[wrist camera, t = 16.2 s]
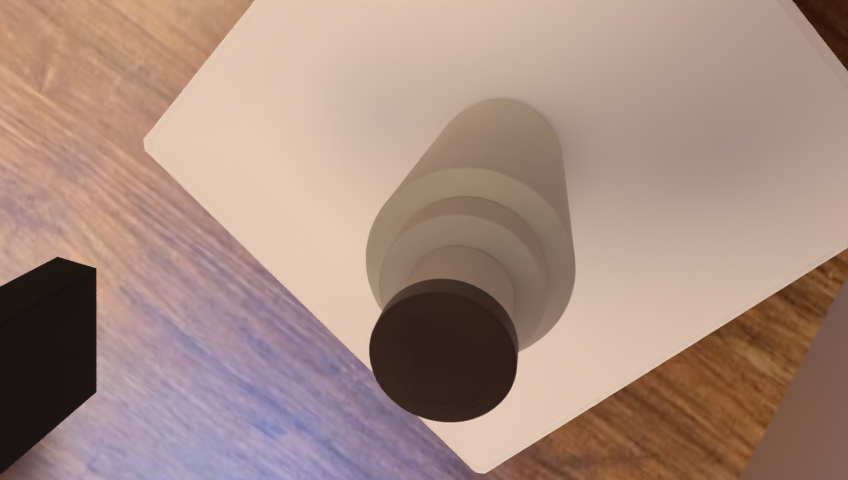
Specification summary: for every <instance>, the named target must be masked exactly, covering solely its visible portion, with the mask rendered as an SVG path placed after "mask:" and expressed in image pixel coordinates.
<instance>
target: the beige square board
mask: <svg viewBox="0 0 848 480" xmlns="http://www.w3.org/2000/svg"><path fill="white" fill-rule="evenodd" d="M488 101H507V102H513V103H517V104H520V105H523V106H525V107H527V108H529V109H531V110H533V111H534V112H536V113H537V114H539V115H540V116H541V117H542V118H543V119H544V120H545V121H546V122H547V123H548V124H549V125H550V126H551V128H552V129H553V131H554V133H555V134H556V136H557V138H558V140H559V143H560V146H561V149H562V155H563V162H564V170H565V178H566V187H567V195H568V203H569V212H570V220H571V228H572V236H573V245H574V253H575V267H576V274H575V282H574V288H573V292H572V295H571V299H570V301H569V303H568V305H567V308H566V310H565V311H564V313H563V315H562V316H561V318H560V319H559V321H558V322H557V323H556V324H555V326H554V327H553V328H552V329H551V330H550V331H549V332H548V333H547V334H546V335H545V336H544V337H543V338H541V339H540V340H539V341H537V342H536V343H534V344H533V345H531V346H530V347H528V348H526V349H524V350H522V351H520V352H518V363H517V373H516V377H515V381H514V384H513V386H512V388H511V390H510V392H509V393H508V395H507V396H506V397H505V399H504V400H503V401H502V402H501V403H500V404H499V405H498V406H497V407H495V408H494V409H493V410H491V411H490V412H488V413H487V414H485V415H483V416H480V417H478V418H475V419H472V420H468V421H463V422H454V423H450V422H437V421H432V420H428V419H424V418H421V417H419V416H418V417H419V418H420V419H421V420H422V421H423V422H424V423H425V424H426V425H427V426H428V427H429V428H430V429H431V430H432V431H433V432H434V433H435V434H436V435H437V436H439V437H440V438H441V439H442V440H443V441H444V442H445V443H446V444H447V445H448V446H449V447H450V448H451V449H452V450H453V451H454V452H455V453H456V454H457V455H458V456H459V457H460V458H461V459H462V460H463V461H464V462H465V463H466V464H467V465H468V466H469V467H470V468H471V469H472V470H473V471H474V472H476V473H483V474H485V473H486V472H488V471H490V470H491V469H493V468H495V467H496V466H498V465H499V464H501V463H503V462H504V461H506V460H507V459H509V458H511V457H512V456H514V455H515V454H517V453H519V452H520V451H522V450H523V449H525V448H527V447H528V446H530V445H531V444H533V443H535V442H536V441H538V440H540V439H541V438H543V437H544V436H546V435H548V434H549V433H551V432H552V431H554V430H556V429H557V428H559V427H560V426H562V425H564V424H565V423H567V422H568V421H570V420H572V419H573V418H575V417H576V416H578V415H580V414H581V413H583V412H585V411H586V410H588V409H589V408H591V407H593V406H594V405H596V404H597V403H599V402H601V401H602V400H604V399H605V398H607V397H609V396H610V395H612V394H613V393H615V392H617V391H618V390H620V389H621V388H623V387H625V386H626V385H628V384H630V383H631V382H633V381H634V380H636V379H638V378H639V377H641V376H642V375H644V374H646V373H647V372H649V371H650V370H652V369H654V368H655V367H657V366H658V365H660V364H662V363H663V362H665V361H666V360H668V359H670V358H671V357H673V356H675V355H676V354H678V353H679V352H681V351H683V350H684V349H686V348H687V347H689V346H691V345H692V344H694V343H695V342H697V341H699V340H700V339H702V338H703V337H705V336H707V335H708V334H710V333H711V332H713V331H715V330H716V329H718V328H720V327H721V326H723V325H724V324H726V323H728V322H729V321H731V320H732V319H734V318H736V317H737V316H739V315H740V314H742V313H744V312H745V311H747V310H748V309H750V308H752V307H753V306H755V305H756V304H758V303H760V302H761V301H763V300H765V299H766V298H768V297H769V296H771V295H773V294H774V293H776V292H777V291H779V290H781V289H782V288H784V287H785V286H787V285H789V284H790V283H792V282H793V281H795V280H797V279H798V278H800V277H801V276H803V275H805V274H806V273H808V272H810V271H811V270H813V269H814V268H816V267H818V266H819V265H821V264H822V263H824V262H826V261H827V260H829V259H830V258H832V257H834V256H835V255H837V254H838V253H840V252H842V251H843V250H845V249H846V248H848V71H847V70H846V69H845V67H844V66H843V65H842V63H841V62H840V61H839V60H838V58H837V57H836V56H835V54H834V53H833V52H832V51H831V49H830V48H829V47H828V46H827V44H826V43H825V42H824V40H823V39H822V38H821V37H820V35H819V34H818V33H817V31H816V30H815V29H814V28H813V26H812V25H811V24H810V22H809V21H808V20H807V19H806V17H805V16H804V15H803V14H802V12H801V11H800V10H799V8H798V7H797V6H796V5H795V3H794V2H793V1H792V0H255V1H254V2H253V3H252V4H251V6H250V7H249V8H248V9H247V11H246V12H245V13H244V14H243V16H242V17H241V18H240V19H239V21H238V22H237V23H236V24H235V26H234V27H233V28H232V29H231V31H230V32H229V33H228V34H227V36H226V37H225V38H224V39H223V41H222V42H221V43H220V44H219V46H218V47H217V48H216V49H215V51H214V52H213V53H212V54H211V56H210V57H209V58H208V59H207V61H206V62H205V63H204V64H203V66H202V67H201V68H200V69H199V71H198V72H197V73H196V74H195V76H194V77H193V78H192V79H191V81H190V82H189V83H188V84H187V86H186V87H185V88H184V89H183V91H182V92H181V93H180V94H179V96H178V97H177V98H176V99H175V101H174V102H173V103H172V104H171V106H170V107H169V108H168V109H167V111H166V112H165V113H164V114H163V116H162V117H161V118H160V119H159V121H158V122H157V123H156V124H155V126H154V127H153V128H152V129H151V131H150V132H149V133H148V134H147V136H146V137H145V138H144V139H143V142H144V149H145V151H146V152H147V153H148V154H149V155H150V156H151V157H152V158H153V159H154V160H155V161H157V162H158V163H159V164H160V165H161V166H162V167H163V168H164V169H165V170H166V171H167V172H168V173H169V174H170V175H171V176H172V177H173V178H174V179H175V180H176V181H177V182H178V183H179V184H180V185H181V186H182V187H183V188H184V189H185V190H186V191H187V192H188V193H189V194H190V195H191V196H192V197H193V198H194V199H195V200H197V201H198V202H199V203H200V204H201V205H202V206H203V207H204V208H205V209H206V210H207V211H208V212H209V213H210V214H211V215H212V216H213V217H214V218H215V219H216V220H217V221H218V222H219V223H220V224H221V225H222V226H223V227H224V228H225V229H226V230H227V231H228V232H229V233H230V234H231V235H232V236H233V237H234V238H235V239H237V240H238V241H239V242H240V243H241V244H242V245H243V246H244V247H245V248H246V249H247V250H248V251H249V252H250V253H251V254H252V255H253V256H254V257H255V258H256V259H257V260H258V261H259V262H260V263H261V264H262V265H263V266H264V267H265V268H266V269H267V270H268V271H269V272H270V273H271V274H272V275H273V276H274V277H275V278H276V279H278V280H279V281H280V282H281V283H282V284H283V285H284V286H285V287H286V288H287V289H288V290H289V291H290V292H291V293H292V294H293V295H294V296H295V297H296V298H297V299H298V300H299V301H300V302H301V303H302V304H303V305H304V306H305V307H306V308H307V309H308V310H309V311H310V312H311V313H312V314H313V315H314V316H315V317H316V318H318V319H319V320H320V321H321V322H322V323H323V324H324V325H325V326H326V327H327V328H328V329H329V330H330V331H331V332H332V333H333V334H334V335H335V336H336V337H337V338H338V339H339V340H340V341H341V342H342V343H343V344H344V345H345V346H346V347H347V348H348V349H349V350H350V351H351V352H352V353H353V354H354V355H355V356H356V357H358V358H359V359H360V360H361V361H362V362H363V363H364V364H365V365H366V366H367V367H368V368H369V369H370V370H371V371H372V372H373V370H372V367H371V364H370V357H369V343H370V337H371V334H372V331H373V328H374V326H375V324H376V322H377V320H378V318H379V316H380V315H381V313H382V311H381V309H380V307H379V306H378V304H377V302H376V300H375V298H374V296H373V293H372V291H371V288H370V284H369V281H368V277H367V270H366V247H367V240H368V237H369V233H370V229H371V227H372V225H373V222H374V220H375V218H376V216H377V215H378V213H379V211H380V210H381V208H382V207H383V205H384V204H385V203H386V202H387V200H388V199H389V198H390V196H391V195H392V194H393V193H394V191H395V190H396V189H397V188H398V186H399V185H400V184H401V183H402V181H403V180H404V179H405V177H406V176H407V175H408V174H409V172H410V171H411V170H412V169H413V167H414V166H415V165H416V163H417V162H418V161H419V160H420V158H421V157H422V156H423V155H424V153H425V152H426V151H427V150H428V148H429V147H430V146H431V144H432V143H433V142H434V141H435V139H436V138H437V137H438V136H439V134H440V133H441V132H442V131H443V129H444V128H445V127H446V126H447V124H448V123H449V122H450V121H451V120H452V119H453V118H454V117H455V116H456V115H458V114H459V113H460V112H462V111H463V110H465V109H467V108H469V107H471V106H474V105H476V104H479V103H483V102H488Z"/></svg>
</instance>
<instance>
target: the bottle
mask: <svg viewBox="0 0 848 480" xmlns="http://www.w3.org/2000/svg"><path fill="white" fill-rule="evenodd" d="M366 270H367V277H368V281H369V284H370V288H371V291H372V293H373V296H374V298H375V300H376V302H377V304H378V306H379V307H380V309H381V311H382V313H381V315H380V316H379V318H378V320H377V322H376V324H375V326H374V328H373V331H372V334H371V337H370V343H369V357H370V364H371V367H372V370H373V373H374V376H375V378H376V380H377V382H378V383H379V385H380V387H381V388H382V389H383V391H384V392H385V393H386V394H387V395H388V396H389V397H390V398H391V399H392V400H393V401H394V402H395V403H396V404H398V405H399V406H400V407H402V408H403V409H405V410H406V411H408V412H410V413H412V414H414V415H416V416H419V417H421V418H424V419H428V420H432V421H437V422H450V423H454V422H463V421H468V420H472V419H475V418H478V417H480V416H483V415H485V414H487V413H488V412H490V411H491V410H493V409H494V408H495V407H497V406H498V405H499V404H500V403H501V402H502V401H503V400H504V399H505V397H506V396H507V395H508V393H509V392H510V390H511V388H512V386H513V384H514V381H515V377H516V373H517V363H518V352H520V351H522V350H524V349H526V348H528V347H530V346H531V345H533V344H534V343H536V342H537V341H539V340H540V339H541V338H543V337H544V336H545V335H546V334H547V333H548V332H549V331H550V330H551V329H552V328H553V327H554V326H555V324H556V323H557V322H558V321H559V319H560V318H561V316H562V315H563V313H564V311H565V310H566V308H567V305H568V303H569V301H570V299H571V295H572V292H573V288H574V282H575V274H576V267H575V253H574V245H573V236H572V228H571V220H570V212H569V203H568V195H567V187H566V178H565V170H564V162H563V155H562V149H561V146H560V143H559V140H558V138H557V136H556V134H555V133H554V131H553V129H552V128H551V126H550V125H549V124H548V123H547V122H546V121H545V120H544V119H543V118H542V117H541V116H540V115H539V114H537V113H536V112H534V111H533V110H531V109H529V108H527V107H525V106H523V105H520V104H517V103H513V102H507V101H488V102H483V103H479V104H476V105H474V106H471V107H469V108H467V109H465V110H463V111H462V112H460V113H459V114H458V115H456V116H455V117H454V118H453V119H452V120H451V121H450V122H449V123H448V124H447V126H446V127H445V128H444V129H443V131H442V132H441V133H440V134H439V136H438V137H437V138H436V139H435V141H434V142H433V143H432V144H431V146H430V147H429V148H428V150H427V151H426V152H425V153H424V155H423V156H422V157H421V158H420V160H419V161H418V162H417V163H416V165H415V166H414V167H413V169H412V170H411V171H410V172H409V174H408V175H407V176H406V177H405V179H404V180H403V181H402V183H401V184H400V185H399V186H398V188H397V189H396V190H395V191H394V193H393V194H392V195H391V196H390V198H389V199H388V200H387V202H386V203H385V204H384V205H383V207H382V208H381V210H380V211H379V213H378V215H377V216H376V218H375V220H374V222H373V225H372V227H371V229H370V233H369V237H368V240H367V247H366Z"/></svg>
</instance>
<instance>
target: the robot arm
mask: <svg viewBox="0 0 848 480" xmlns="http://www.w3.org/2000/svg"><path fill="white" fill-rule="evenodd" d="M95 393H96V268H93V267H90V266H86V265H83V264H80V263H76V262H73V261H70V260H66V259H63V258H60V257H56V258H54V259H53V260H51V261H49V262H47V263H45V264H43V265H41V266H39V267H37V268H35V269H33V270H31V271H29V272H28V273H26V274H24V275H22V276H20V277H18V278H16V279H14V280H12V281H10V282H8V283H6V284H4V285H2V286H1V287H0V475H1V474H2V473H3V472H4V471H5V470H6V469H8V468H9V467H10V466H11V465H12V464H13V463H14V462H16V461H17V460H18V459H19V458H20V457H21V456H23V455H24V454H25V453H26V452H27V451H28V450H30V449H31V448H32V447H33V446H34V445H35V444H37V443H38V442H39V441H40V440H41V439H42V438H44V437H45V436H46V435H47V434H48V433H49V432H50V431H52V430H53V429H54V428H55V427H56V426H57V425H59V424H60V423H61V422H62V421H63V420H64V419H66V418H67V417H68V416H69V415H70V414H71V413H73V412H74V411H75V410H76V409H77V408H78V407H79V406H81V405H82V404H83V403H84V402H85V401H86V400H88V399H89V398H90V397H91V396H92V395H93V394H95Z"/></svg>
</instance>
